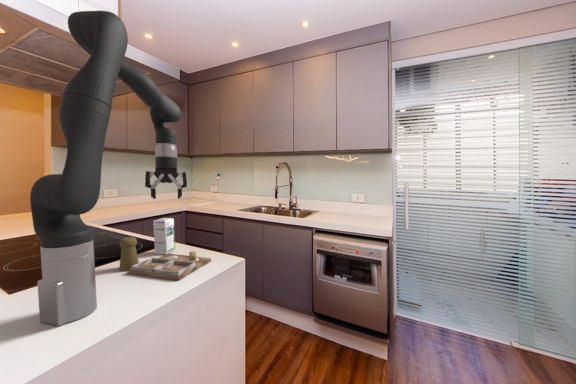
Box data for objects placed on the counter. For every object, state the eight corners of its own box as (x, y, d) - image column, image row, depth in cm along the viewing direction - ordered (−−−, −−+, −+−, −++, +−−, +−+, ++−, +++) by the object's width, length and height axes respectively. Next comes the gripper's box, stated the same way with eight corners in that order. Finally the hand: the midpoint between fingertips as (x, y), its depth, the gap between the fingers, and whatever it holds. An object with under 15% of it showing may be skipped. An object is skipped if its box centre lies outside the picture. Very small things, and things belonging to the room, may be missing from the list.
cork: (135, 263, 90) (134, 234, 89) (142, 267, 86) (140, 237, 86) (116, 268, 85) (115, 237, 85) (122, 272, 82) (121, 241, 81)
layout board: (178, 280, 76) (178, 267, 76) (128, 273, 81) (127, 261, 81) (211, 261, 93) (210, 250, 93) (167, 256, 98) (167, 246, 98)
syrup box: (166, 254, 100) (165, 220, 99) (154, 254, 101) (152, 219, 100) (175, 250, 106) (174, 218, 105) (163, 250, 107) (162, 217, 106)
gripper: (142, 154, 86) (143, 199, 87) (186, 156, 91) (186, 199, 92) (147, 156, 93) (148, 198, 94) (187, 158, 98) (187, 197, 99)
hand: (167, 198), depth 93 cm, fingers open, 8 cm apart
